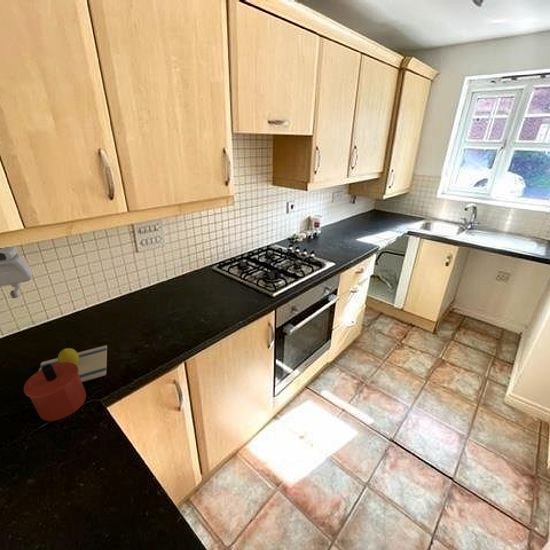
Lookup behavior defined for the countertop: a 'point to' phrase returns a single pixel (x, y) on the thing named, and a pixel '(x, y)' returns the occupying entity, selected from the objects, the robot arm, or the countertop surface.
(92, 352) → the towel
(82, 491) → the countertop surface
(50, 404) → the pot
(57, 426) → the countertop surface
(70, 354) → the lemon
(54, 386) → the pot lid
